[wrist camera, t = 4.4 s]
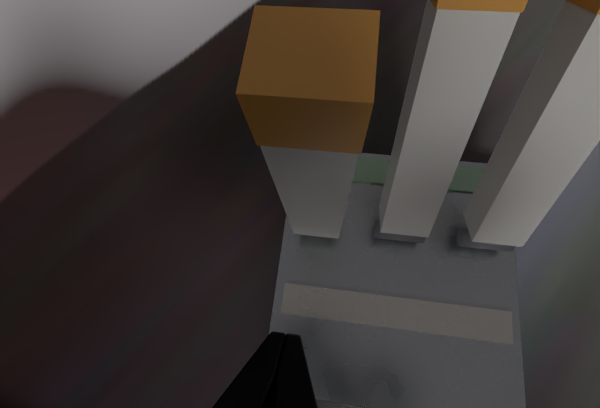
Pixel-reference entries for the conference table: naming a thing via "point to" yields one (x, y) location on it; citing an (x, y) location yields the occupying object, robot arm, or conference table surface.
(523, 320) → the conference table surface
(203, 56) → the conference table surface
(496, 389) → the panel
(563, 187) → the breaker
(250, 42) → the tripped breaker
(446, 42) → the grey long bar piece
